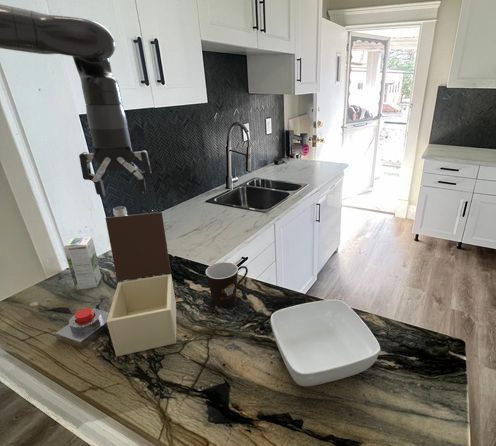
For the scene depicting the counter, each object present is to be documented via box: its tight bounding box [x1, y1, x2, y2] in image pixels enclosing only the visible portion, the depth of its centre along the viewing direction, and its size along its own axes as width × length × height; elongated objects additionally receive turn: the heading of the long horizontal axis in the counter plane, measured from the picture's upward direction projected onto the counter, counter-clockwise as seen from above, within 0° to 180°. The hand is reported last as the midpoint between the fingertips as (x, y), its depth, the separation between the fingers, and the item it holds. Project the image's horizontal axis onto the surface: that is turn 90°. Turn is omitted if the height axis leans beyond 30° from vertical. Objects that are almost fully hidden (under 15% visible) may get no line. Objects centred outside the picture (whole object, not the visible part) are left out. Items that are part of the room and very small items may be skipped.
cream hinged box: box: [107, 273, 177, 357], centre depth 77 cm, size 16×13×10 cm
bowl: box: [270, 299, 381, 387], centre depth 70 cm, size 20×20×8 cm
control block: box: [54, 307, 110, 350], centre depth 77 cm, size 10×8×4 cm
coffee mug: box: [205, 261, 249, 308], centre depth 88 cm, size 12×9×10 cm
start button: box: [74, 307, 94, 324], centre depth 76 cm, size 4×4×2 cm
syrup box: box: [63, 236, 103, 291], centre depth 93 cm, size 6×6×14 cm
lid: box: [105, 211, 172, 282], centre depth 80 cm, size 16×13×1 cm
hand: (122, 194), depth 77 cm, fingers open, 8 cm apart
